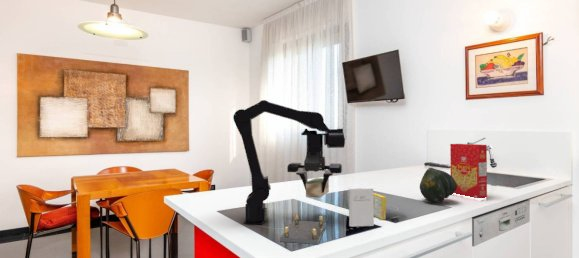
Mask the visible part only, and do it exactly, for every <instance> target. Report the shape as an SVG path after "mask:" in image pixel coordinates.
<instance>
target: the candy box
mask: <svg viewBox="0 0 579 258" xmlns="http://www.w3.org/2000/svg"><path fill="white" fill-rule="evenodd" d="M373 201H374V218H377V219H379V220H381V221H385V220H386V218H387V217H386V216H387V215H386V214H387V213H386V212H387V209H386V208H387V197H386V196H384V195H381V194H378V193H376V192H373Z"/></svg>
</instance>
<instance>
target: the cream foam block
mask: <svg viewBox="0 0 579 258" xmlns="http://www.w3.org/2000/svg"><path fill="white" fill-rule="evenodd" d="M329 183H330V181H329V179H328V181H327V184H326V187H325V190H324V193H322V187H323V177H321V178H319V177H315V178H313V179H311V180H308V182H306V190H305V197H306V198H317V199H320V198H322V197H323V196H325V195H327V194H328V193H329V191H330V189H329V187H330V186H329V185H330V184H329Z"/></svg>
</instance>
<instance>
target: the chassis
mask: <svg viewBox="0 0 579 258" xmlns="http://www.w3.org/2000/svg"><path fill="white" fill-rule="evenodd" d="M299 218H300V217H299V214H297V213H295V214H294V220H293V221H292V222H291V223H290V225H288V226H286V225H285V226H284V232H283V233H282V235H281V236H280V240H279V241H280V242H281V243H282V242H283V243H292V244H293V243H297V244H308V245H310V244H311V245H319V244H320V242H321V239H322V236H323V233H324V231H325V230H326V226H327V222H326V221H324V216H323V215H319V216H318V221H312V220H310V221H309V220H307V221H306V220H299Z"/></svg>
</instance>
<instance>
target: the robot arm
mask: <svg viewBox="0 0 579 258" xmlns="http://www.w3.org/2000/svg"><path fill="white" fill-rule="evenodd" d="M263 113H267V114H271V115H275V116H278V117H281V118H284V119H288V120H292V121H295V122H297V123H299V124H302V125H303V126H305V127H306V128H304V130H303V131H302V132H301V134H300V135H301V136H306V155H305V159H304V161H303V164H302V163H301V162H291V163H288V165H287V170H286V171H287V173H295V174H296V175H298V176H299V177H300V179H301V181H302V183H303V186H304V189H305V191H306V182H308V181H309V180H308V172H314V173H315V172H319V171H323V172H324V173H323V177H322V178H323V187H322V193H324V190H325V187H326V184H327V181H328V179H329V178H330V176H333V175H334V174H342V173H343V164H341V163H329V165H326V157H325V156H324V146H326V148H328V149H337V148H338V149H339V148H340V149H342V148H343V149H344V148H345V144H346V138H345V135H344V128H336V129H335V128H334V129H331V128H330V129H329V127H328V125H327V124H326V123H325V122H324V121H325V120H324V116H323V115H322V114H321V113H319V112H315V111H310V110H309V111H308V110H307V111H306V110H298V109H294V108H291V107H287V106H283V105H280V104H277V103H273V102H270V101H268V100H266V99H263V100H260V101H259V102H257V103H255V104H254V105H251V106H249V107H247V108H244V109H243V108H241V109H238V110H236V111H235V112H234V113H233V117H232V118H233V122H234V124H235V126H236V129H237V131H238V132H239V134H240V136H241V139H242V145H243V148H244V151H245V155H246V160H247V164H248V167H249V171H250V175H251V192H250V193H248V195H247V198H246V201H245V202H246V203H245V220H244V221H243V224H249V225H251V224H252V225H263V224H264V223H265V222H266V221H267V220H268V218H267V217H268V214H267V210H268V209H267V207H266V203H265V202H264V201H266V200H267V199H268V198H269V196H270V191H271V188H272V187H271V185H270V183H269V182H270V181H269V175H266V176H264V173H263V172H262V171H263V170H262V169H261V163H260V160H259V159H260V158H259V156H258V152H257V147H256V144H255V140H254V136H253V124H252V122H253V120H254V119H256V118H257V117H259V116H260V115H262V114H263ZM307 128H309V129H311V130H309V129H307ZM313 129H314V130H313ZM317 131H319V132H324V133H318V132H317Z"/></svg>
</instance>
